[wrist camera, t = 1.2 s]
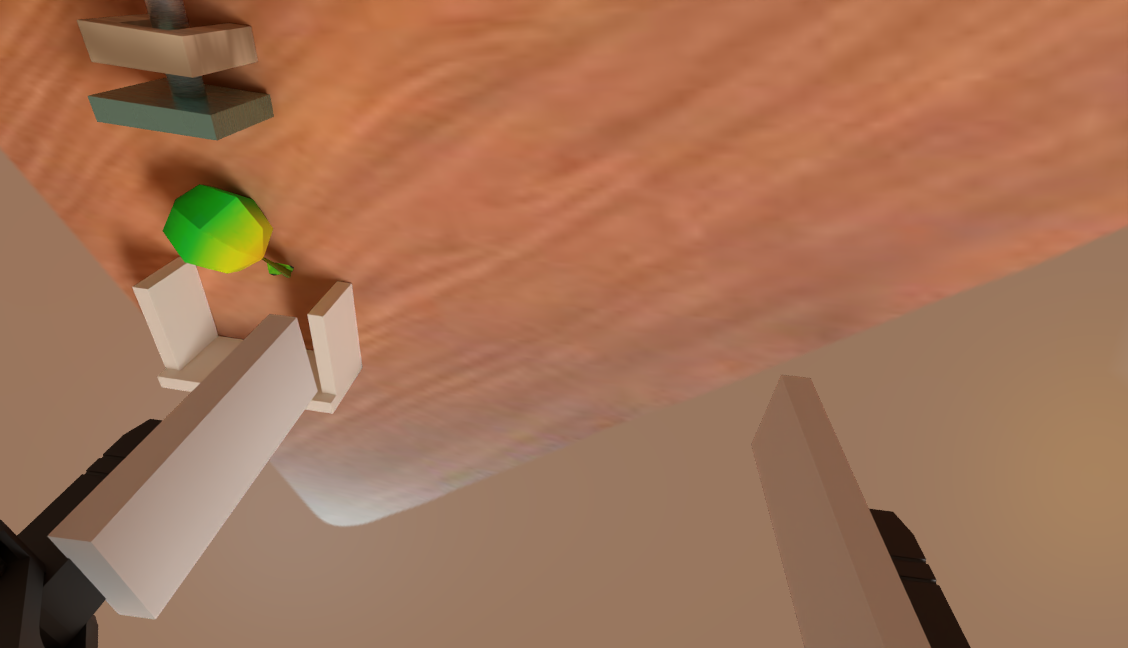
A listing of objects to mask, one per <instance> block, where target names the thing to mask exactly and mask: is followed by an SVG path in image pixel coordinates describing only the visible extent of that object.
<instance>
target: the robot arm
mask: <svg viewBox="0 0 1128 648" xmlns="http://www.w3.org/2000/svg"><path fill="white" fill-rule="evenodd" d="M317 392H318V390H317V387H316V383H315V380H314V376H313V373H312V369H311V366H310V362H309V359H308V355H307V352H306V348H305V344H304V341H303V337H302V334H301V330H300V327H299V323H298V320H297V317H290V316H282V315H273V314H269V315H268V316H267V317H266V318H265V319H264V320H263V321H262V322H261V323H260V324H259V325H258V326H257V327H256V328H255V329H254V330H253V331H252V332H251V333H250V334H249V335H248V336H247V337H246V338H245V339H244V340H243V341H242V342H241V343H240V344H239V345H238V346H237V347H236V348H235V349H234V350H233V351H232V352H231V353H230V354H229V355H228V356H227V357H226V358H225V359H224V360H223V361H222V362H221V363H220V364H219V365H218V366H217V367H216V368H215V369H214V370H213V371H212V372H211V373H210V374H209V375H208V376H207V377H206V378H205V379H204V380H203V381H202V382H201V383H200V384H199V385H198V386H197V387H196V388H195V389H194V390H193V391H192V392H191V393H190V394H189V395H188V396H187V397H186V398H185V399H184V400H183V401H182V402H181V403H180V404H179V405H178V406H177V407H176V408H175V409H174V410H173V411H172V412H171V413H170V414H169V415H168V416H167V417H166V418H165V419H164V420H163V421H162V420H154V419H149V420H148V421H146V422H144V423H143V424H141V425H139V426H138V427H136V428H134V429H133V430H131V431H129V432H128V433H126V434H124V435H123V436H122V437H121V438H120V439H119V440H118V441H117V442H116V443H114V444H113V445H112V446H111V447H110V448H109V449H108V450H107V451H106V452H105V453H104V454H103V457H102V458H99V459H98V460H97V461H96V462H94V464H92V465H91V466H90V467H89V468H88V469H87V470H86V471H87V472H86V474H84V475H83V474H82V475H81V476H80V477H79V478H78V479H77V480H76V481H74V483H72V484H71V485H70V486H69V487H68V488H67V489H66V490H65V491H64V492H63V493H62V494H61V495H60V496H59V497H58V498H57V499H55V500H54V501H53V502H52V503H51V504H50V505H49V506H48V507H47V508H46V509H45V510H44V511H43V512H42V513H41V514H40V515H39V516H38V517H37V518H36V519H34V521H32V522H31V523H30V524H29V525H28V526H27V527H26V528H25V529H24V530H23V531H22V532H21V533H20V534H18V535H17V536H16V535H15V534H14V533H13V532H12V531H11V529H10V528H9V527H7V525H6V524H4V522H3V521H2V520H0V648H98V624H97V621H96V617H95V616H94V615H93V614H94V613H95V612H96V610H97V609H98V608H99V607H100V606H101V604H102V603H103V602H104V601H105V600H106V601H107V602H108V603H109V604H110V605H111V606H112V608H113V609H114V610H115V611H116V612H117V613H118V614H121V615H128V616H135V617H142V618H149V619H156V618H157V617H158V615H159V614H160V613H161V611H162V610H163V608H164V607H165V606H166V604H167V603H168V601H169V600H170V598H171V597H172V596H173V594H174V593H175V591H176V590H177V589H178V587H179V586H180V584H181V583H182V582H183V580H184V579H185V577H186V576H187V574H188V573H189V572H190V570H191V569H192V568H193V566H194V564H195V563H196V562H197V560H198V559H199V558H200V556H201V555H202V553H203V552H204V551H205V549H206V548H207V546H208V545H209V544H210V542H211V541H212V539H213V538H214V537H215V535H216V533H217V532H218V531H219V530H220V528H221V527H222V525H223V524H224V522H225V521H226V519H227V518H228V517H229V515H230V514H231V513H232V511H233V510H234V508H235V507H236V506H237V504H238V503H239V501H240V500H241V499H242V497H243V496H244V494H245V493H246V491H247V490H248V489H249V487H250V486H251V484H252V483H253V482H254V480H255V479H256V477H257V476H258V475H259V473H260V472H261V470H262V469H263V468H264V466H265V464H266V463H267V462H268V461H269V459H270V458H271V456H272V455H273V453H274V452H275V451H276V449H277V448H278V446H279V445H280V444H281V442H282V441H283V439H284V438H285V437H286V435H287V434H288V432H289V431H290V430H291V428H292V427H293V425H294V424H295V422H296V421H297V420H298V418H299V417H300V415H301V414H302V413H303V411H304V410H305V408H306V407H307V406H308V404H309V403H310V401H311V400H312V399H313V397H314V396H315V394H316V393H317ZM751 446H752V449H753V453H754V457H755V461H756V465H757V469H758V472H759V476H760V480H761V484H762V488H763V491H764V495H765V499H766V503H767V507H768V511H769V514H770V518H771V522H772V525H773V530H774V533H775V537H776V541H777V545H778V549H779V552H780V556H781V560H782V564H783V568H784V571H785V575H786V579H787V583H788V587H789V590H790V594H791V598H792V602H793V606H794V609H795V613H796V617H797V621H798V624H799V628H800V632H801V636H802V640H803V644H804V647H805V648H970V646H969V644H968V642H967V640H966V638H965V636H964V634H963V632H962V630H961V628H960V626H959V624H958V622H957V620H956V618H955V616H954V614H953V612H952V610H951V608H950V606H949V604H948V602H947V600H946V598H945V596H944V594H943V592H942V590H941V588H940V586H939V585H937V584H936V578H935V576H934V574H933V572H932V570H931V569H930V566H929V565H928V564H926V559H925V556H924V554H923V552H922V551H921V548H920V547H919V545H918V543H917V541H916V539H915V537H914V535H913V534H912V532H911V531H910V530H909V529H908V528H907V527H906V526H905V525H904V523H903V522H902V521H901V520H900V519H899V518H898V517H897V516H896V515H895V514H894V512H890V511H882V510H875V509H874V510H873V509H869V508H868V506H867V504H866V501H865V499H864V497H863V494H862V492H861V490H860V488H859V485H858V483H857V481H856V479H855V476H854V475H853V472H852V470H851V468H850V465H849V463H848V461H847V459H846V456H845V454H844V452H843V450H842V447H841V445H840V443H839V441H838V438H837V436H836V434H835V432H834V429H833V427H832V425H831V423H830V421H829V418H828V416H827V414H826V412H825V409H824V408H823V405H822V403H821V401H820V398H819V396H818V394H817V392H816V389H815V387H814V385H813V382H812V380H811V378H805V377H797V376H787V375H781V377H780V379H779V381H778V384H777V386H776V388H775V390H774V393H773V395H772V398H771V400H770V402H769V405H768V407H767V409H766V412H765V414H764V416H763V418H762V421H761V423H760V425H759V428H758V430H757V432H756V435H755V437H754V439H753V442H752V444H751Z"/></svg>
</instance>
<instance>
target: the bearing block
mask: <svg viewBox="0 0 1128 648" xmlns="http://www.w3.org/2000/svg"><path fill="white" fill-rule="evenodd" d="M77 23H78V25H79V28H80V31H81V34H82V36H83V39H84V42H85V45H86V48H87V50H88V53H89V56H90V59H91V61H92V62H96V63H103V64H109V65H115V66H122V67H128V68H134V69H141V70H147V71H153V72H160V73H166V74H172V75H179V76H185V77H191V78H194V77H198V76H202V75H206V74H210V73H214V72H218V71H222V70H226V69H230V68H234V67H238V66H242V65H246V64H250V63H255V62H258V60H257V54H256V49H255V44H254V39H253V34H252V29H251V26H245V25H239V24H233V23H224V24H217V25H209V26H201V27H193V28H185V29H178V30H170V31H169V30H162V29H156V28H152V25H151V22H150V18H149V15H148V14H138V15H126V16H115V17H103V18H92V19H80V20H77Z"/></svg>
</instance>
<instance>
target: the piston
mask: <svg viewBox="0 0 1128 648" xmlns="http://www.w3.org/2000/svg"><path fill="white" fill-rule="evenodd" d="M144 1H145V4H146V8H147V11H148V15H149V18H150V22H151V25H152V28H156V29H162V30H169V31H170V30H178V29H185V28H190V27H189V23H188V19H187V15H186V11H185V7H184V3H183V0H144ZM165 74H166V73H165ZM166 77H167V78H162V79H158V80H154V81H149V82H145V83H141V84H136V85H132V86H128V87H123V88H119V89H115V90H110V91H106V92H102V93H98V94H93V95H89V96H88V98H89V101H90V104H91V106H92V109H93V112H94V114H95V117H96V120H97V122H103V123H110V124H116V125H122V126H129V127H135V128H141V129H148V130H154V131H160V132H167V133H173V134H180V135H186V136H192V137H199V138H205V139H211V140H219V139H221V138H224V137H226V136H229V135H231V134H233V133H236V132H238V131H241V130H243V129H245V128H248V127H250V126H253V125H255V124H257V123H260V122H262V121H264V120H267V119H269V118H272V117H274V114H273V109H272V104H271V98H270V94H264V93H257V92H251V91H245V90H238V89H232V88H226V87H219V86H213V85H207V84H204V82H203V78H202V76H198V77H194V78H191V77H185V76H179V75H172V74H166Z"/></svg>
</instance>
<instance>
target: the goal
mask: <svg viewBox="0 0 1128 648" xmlns="http://www.w3.org/2000/svg"><path fill="white" fill-rule="evenodd" d="M132 288H133V290H134V293H135V295H136V298H137V300H138V302H139V305H140V307H141V310H142V312H143V314H144V317H145V319H146V322H147V324H148V326H149V329H150V331H151V334H152V336H153V339H154V341H155V343H156V346H157V348H158V351H159V353H160V355H161V358H162V360H163V363H164V365H165V368H166V369H165V370H164V371H163V372H161V373H160V374H159V375H158V376H157V377H158V380H159V382H160V384H161V387H164V388H171V389H177V390H184V391H190V392H192V391H193V390H194V389H195V388H196V387H197V386H198V385H199V384H200V383H201V382H202V381H203V380H204V379H205V378H206V377H207V376H208V375H209V374H210V373H211V372H212V371H213V370H214V369H215V368H216V367H217V366H218V365H219V364H220V363H221V362H222V361H223V360H224V359H225V358H226V357H227V356H228V355H229V354H230V353H231V352H232V351H233V350H234V349H235V348H236V347H237V346H238V345H239V344H240V343H241V342H242V341H243V340H242V339H236V338H229V337H223V336H218V333H217V330H216V327H215V324H214V320H213V317H212V314H211V311H210V308H209V305H208V302H207V299H206V296H205V293H204V289H203V286H202V283H201V280H200V277H199V274H198V271H197V268H196V265H193V264H189V263H185V262H184V261H183V259H182V258H181V257H180V256H179V257H178V258H176V259H174V260H173V261H171V262H170V263H168V264H167V265H165V266H164V267H162V268H161V269H159V270H157V271H156V272H154V273H153V274H151V275H150V276H148V277H147V278H145V279H144V280H142V281H140V282H139V283H137V284H136V285H134V286H133V287H132ZM307 316H308V321H309V326H310V331H311V336H312V342H313V347H314V351H313V350H306V352H307V355H308V359H309V362H310V366H311V369H312V373H313V376H314V380H315V383H316V387H317V390H318V392H317V393H316V394H315V396H314V397H313V399H312V400H311V401H310V403H309V404H308V406H307V407H306V408H305V409H306V410H313V411H319V412H325V413H332V414H333V413H334V411H335V410H336V408H337V406H338V405H339V403H340V402H341V400H342V399H343V397H344V396H345V394H346V393H347V391H348V389H349V388H350V386H351V385H352V383H353V382H354V380H355V379H356V377H357V375H358V374H359V372H360V371H361V369H362V362H361V354H360V346H359V338H358V330H357V322H356V314H355V306H354V298H353V290H352V283H346V282H340V281H337V282H336V283H335V284H334V285H333V286H332V287H331V289H330V290H329V291H328V292H327V293H326V294H325V295H324V296H323V297H322V298H321V300H320V301H319V302H318V303H317V304H316V305H315V306H314V307H313V308H312V310H311V311H310V312H309V313H308V314H307Z"/></svg>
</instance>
